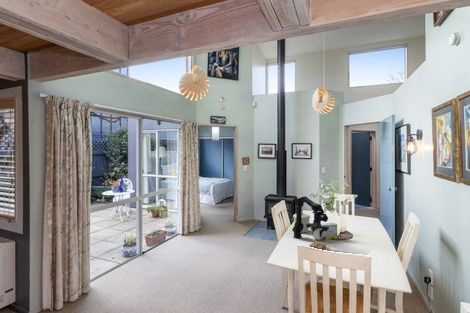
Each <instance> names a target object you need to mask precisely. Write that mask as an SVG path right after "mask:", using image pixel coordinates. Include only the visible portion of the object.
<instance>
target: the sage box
mask: <svg viewBox="0 0 470 313" xmlns="http://www.w3.org/2000/svg"><path fill="white" fill-rule="evenodd" d="M315 238H316V239H320V238H321V237H320V230H314V234H313V239H315Z"/></svg>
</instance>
